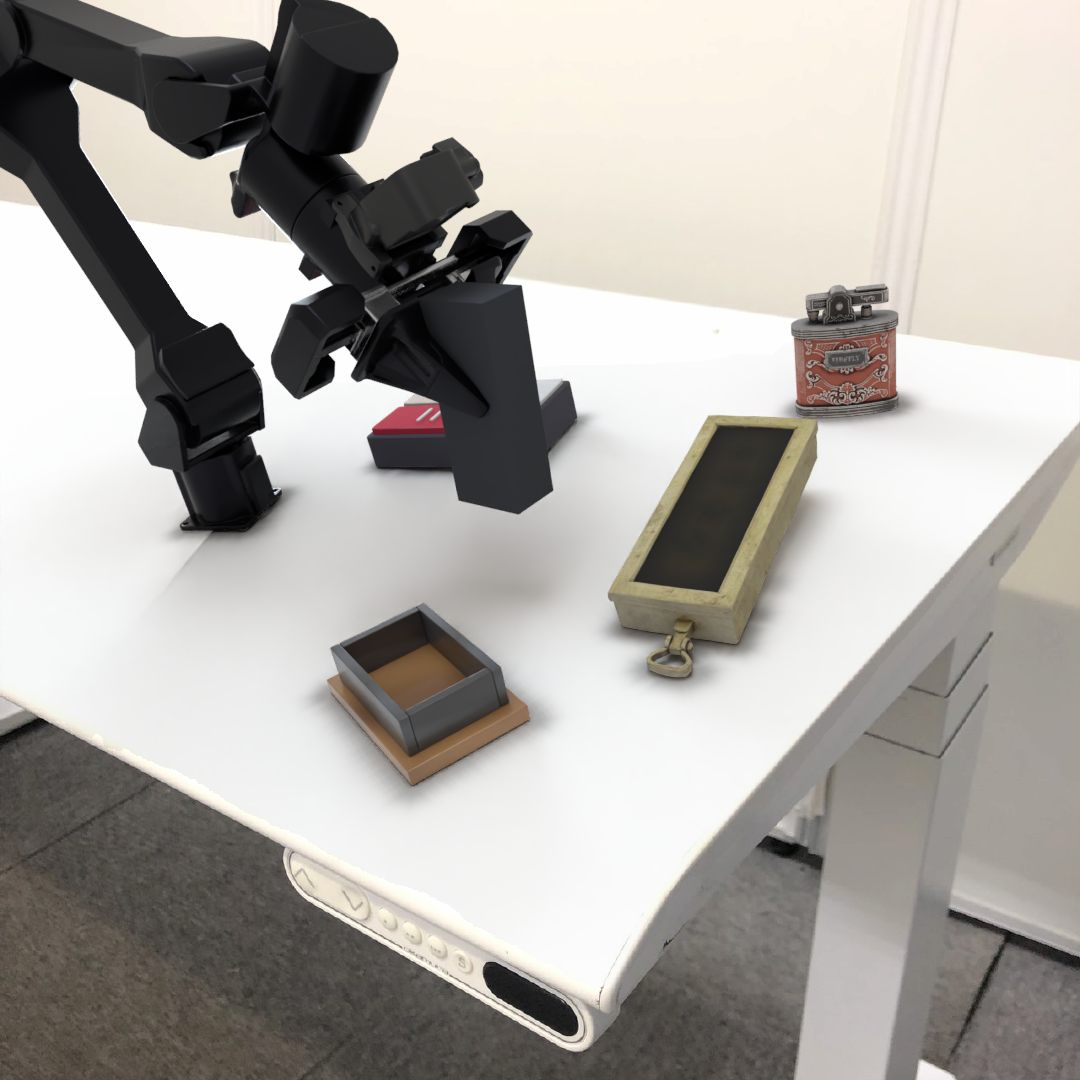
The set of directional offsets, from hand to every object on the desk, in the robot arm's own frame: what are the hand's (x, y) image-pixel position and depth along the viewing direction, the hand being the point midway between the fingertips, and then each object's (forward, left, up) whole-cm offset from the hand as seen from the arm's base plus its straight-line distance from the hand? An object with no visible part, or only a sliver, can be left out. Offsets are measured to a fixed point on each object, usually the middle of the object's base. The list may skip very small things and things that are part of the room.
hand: (505, 399), depth 61 cm
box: (+11, +3, -14) cm, 18 cm away
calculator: (-13, +23, -14) cm, 30 cm away
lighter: (+18, +27, -14) cm, 36 cm away
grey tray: (-4, -12, -14) cm, 18 cm away
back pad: (-1, 0, -7) cm, 7 cm away
